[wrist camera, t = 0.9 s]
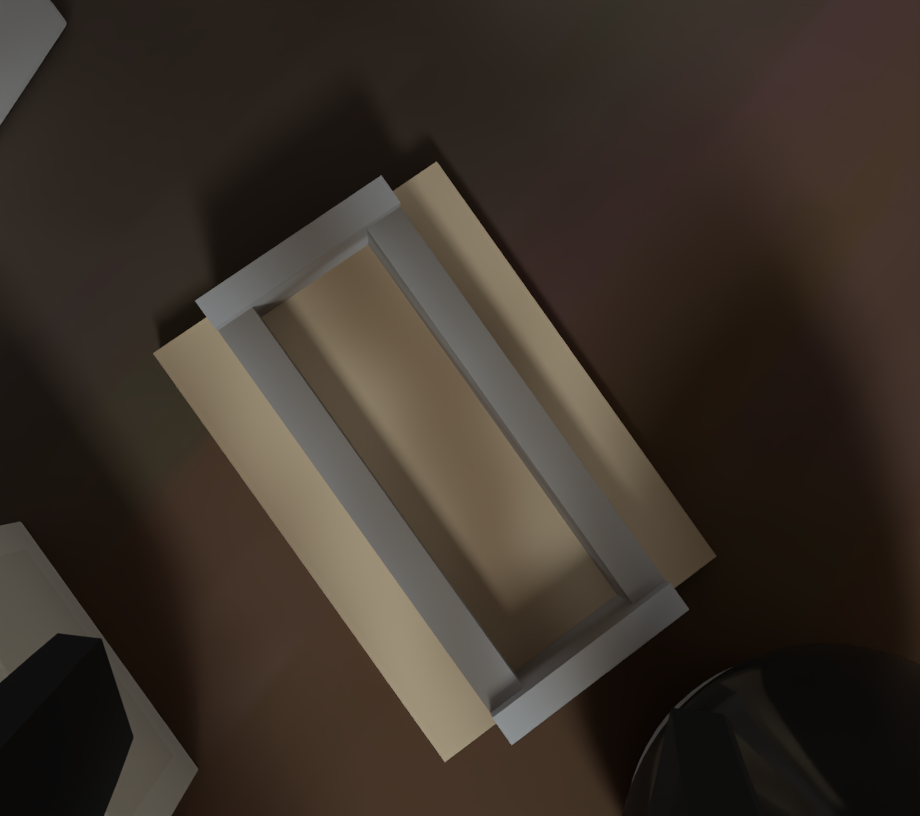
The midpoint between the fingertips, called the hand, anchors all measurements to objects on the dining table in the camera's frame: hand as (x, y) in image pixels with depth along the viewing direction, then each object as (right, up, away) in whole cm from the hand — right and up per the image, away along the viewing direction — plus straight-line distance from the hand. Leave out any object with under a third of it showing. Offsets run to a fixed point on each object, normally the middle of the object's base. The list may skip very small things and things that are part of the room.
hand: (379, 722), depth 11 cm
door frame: (0, +3, +13) cm, 13 cm away
